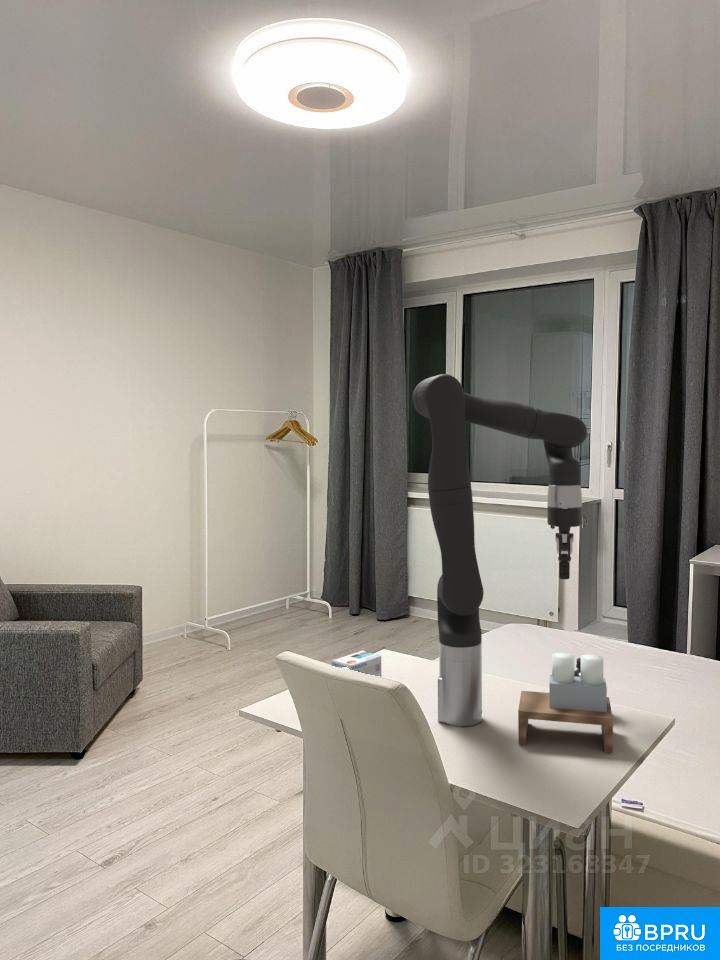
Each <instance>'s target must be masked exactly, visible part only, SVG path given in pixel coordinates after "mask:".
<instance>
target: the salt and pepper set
mask: <svg viewBox="0 0 720 960" xmlns="http://www.w3.org/2000/svg"><path fill="white" fill-rule="evenodd" d="M580 658H581V677H575V676H574V671H575V659H576V658H575V655H573V654H572V653H569V652H555V653H552V655H551V664H552V665H551V674H549V682H548V683H549V684H548V685H549V691H548V693H549V707H550V708H562V709H574V710H587V711H599V712H607V697H608V696H607V693H608V692H607V691H608V690H607V689H608V686H607V683H606V678H604V657H603V656H601V655H599V654H598V655H597V654H589V653H588V654H582V655H581V656H580Z"/></svg>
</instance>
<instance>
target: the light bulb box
mask: <svg viewBox="0 0 720 960" xmlns="http://www.w3.org/2000/svg"><path fill="white" fill-rule="evenodd" d="M332 666H335V667H341V668H342V667H347V666H348V667H347V668H349V669H350V670H354V671H358V672H361V673H365V674H370V675H375V676H380V677H382V676H383V675H382V673H383V672H382V655H381V654H377V653H375V652H369V651H366V650H360V651H356V652H354V653H350V654H349V655H346V656H342V657H339V658H335V659H332V660H331V667H332Z"/></svg>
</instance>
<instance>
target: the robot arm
mask: <svg viewBox="0 0 720 960" xmlns="http://www.w3.org/2000/svg"><path fill="white" fill-rule="evenodd" d="M411 399H412V404H413V406H414V409H415V410H416V411H417V413H418V414H420V416H423V417H424V418H426V419H429V423H430V431H431V439H432V447H431V448H432V449H431V450H432V451H431V454H430V461H429V466H428V467H429V468H428V473H427V474H428V475H427V491H428V499H429V507H430V508H429V509H430V514H431V518H432V523H433V527H434V531H435V534H436V538H437V542H438V545H439V549H440V557H441V575H440V577H439V579H438V582H437V590H436V591H437V592H436V597H437V598H436V599H437V600H436V601H437V603H436V604H437V605H436V606H437V628H438V643H439V644H438V645H439V649H438V654H439V655H438V656H439V657H438V658H439V664H438V665H439V668H438V669H439V672H438V673H439V676H438V677H437V722H440V723H445V724H447V725H450V726H456V727H469V726H475V725H477V724H480V723H481V722H482V720H483V676H482V675H483V673H482V672H483V667H482V666H483V663H482V662H483V656H482V655H483V653H482V648H483V646H482V643H483V642H482V638H483V637H482V633H483V632H482V627H481V622H480V606H481V604H482V602H483V601H484V600H483V599H484V593H485V592H484V586H483V583H482V578H481V574H480V569H479V564H478V558H477V554H476V553H477V552H476V546H475V545H476V542H475V541H476V540H475V516H474V515H475V514H474V500H473V492H472V489H473V488H472V482H471V474H470V468H469V467H470V465H469V457H468V451H467V450H468V449H467V443H466V423H469V424H474V425H477V426H481V427H486V428H488V429H493V430H496V431H499V432H503V433H505V434H506V433H507V434H510V435H513V436H517V437H520V438H524V439H525V438H526V439H528V440H542V441H543V447H544V452H545V456H546V460H547V464H548V487H547V498H546V499H547V503H546V504H547V514H546V515H547V521H546V522H547V525H548V526H550V527H557V528H558V530H557V531H558V532H555V543H556V553H557V554H558V560H557V561H558V562H559V564H558V565H559V567H558V568H559V570H558V571H559V572H558V573H559V574H558V575H559V576H558V577H559V579H560V580H570V578H571V577H570V571H571V570H570V569H571V568H570V567H571V566H570V565H571V564H570V563H571V561H572V557H571V555H572V554H573V543H574V541H575V540H574V539H575V538H574V532H570V531H571V528H573V527H574V528H575V527H576V528H577V527H580V526H582V524H583V523H582V519H583V515H582V512H583V504H582V503H583V501H582V500H583V495H582V488H581V482H582V479H581V478H582V477H581V473H582V469H581V463H580V462H579V460H578V459H576V458H574V456H573V450H572V448H576V447H579V446H581V445H582V444H583V443H584V442H585V440H586V438H587V436H588V429H587V426H586V424H585V422H584V421H583V420H582V419H580V418H579V417H577V416H574V415H572V414H566V413H559V412H556V411H555V412H553V411H549V410H543V409H539V408H538V407H534V406H530V405H526V404H522V403H520V402H515V401H511V400H504V399H497V398H490V397H484V396H478V395H474V394H470V393H466V392H465V391H464V387H463V386H462V384H461V382H460V381H459V380H458V379H457V378H456V377H455V376H454V375H451V374H446V373H441V374H438V375H434V376H430V377H428V378H425V379H423V380H421V381H420V382H419V383H418V384H417V385H416V386H415V388H414V389H413V392H412V398H411Z"/></svg>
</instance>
